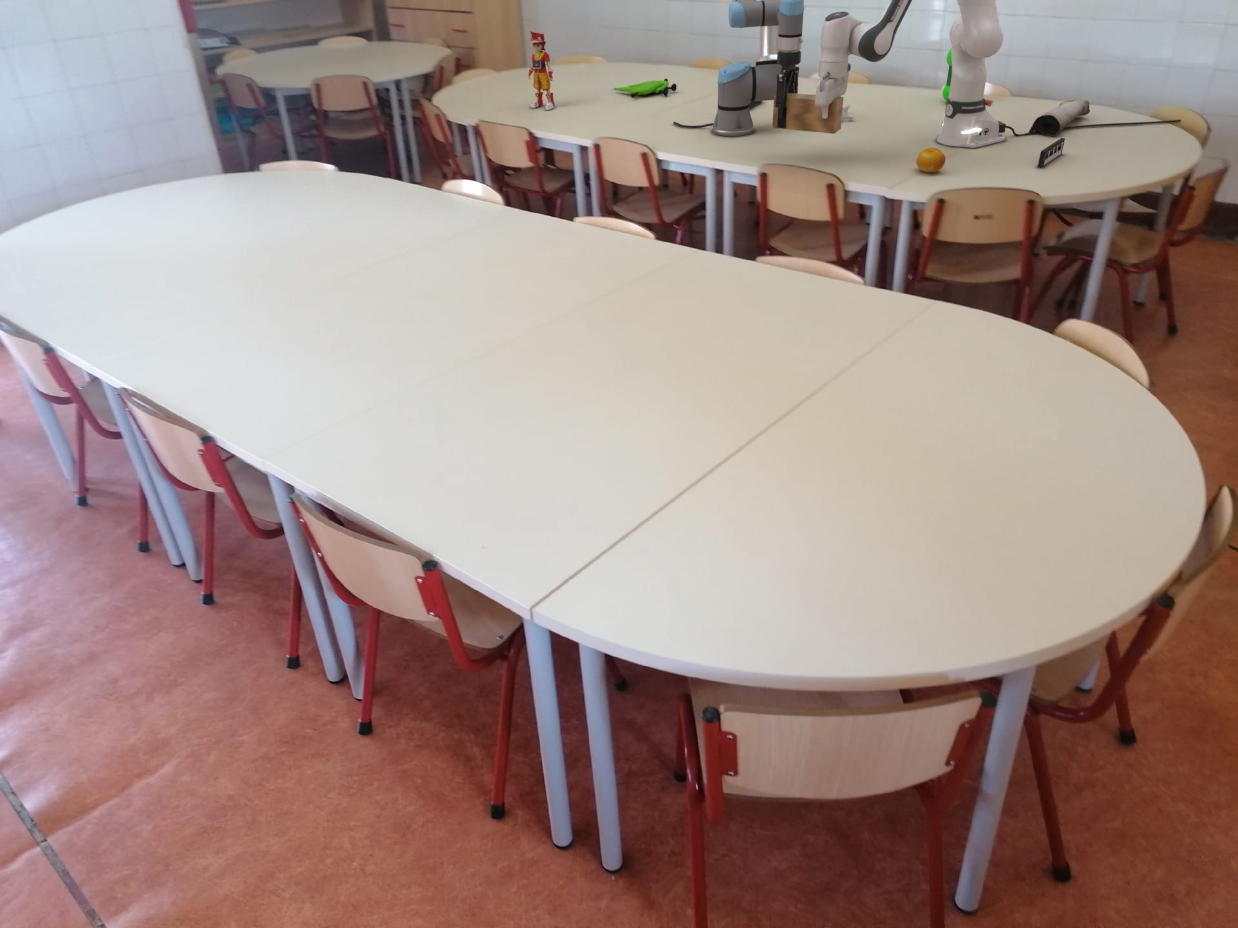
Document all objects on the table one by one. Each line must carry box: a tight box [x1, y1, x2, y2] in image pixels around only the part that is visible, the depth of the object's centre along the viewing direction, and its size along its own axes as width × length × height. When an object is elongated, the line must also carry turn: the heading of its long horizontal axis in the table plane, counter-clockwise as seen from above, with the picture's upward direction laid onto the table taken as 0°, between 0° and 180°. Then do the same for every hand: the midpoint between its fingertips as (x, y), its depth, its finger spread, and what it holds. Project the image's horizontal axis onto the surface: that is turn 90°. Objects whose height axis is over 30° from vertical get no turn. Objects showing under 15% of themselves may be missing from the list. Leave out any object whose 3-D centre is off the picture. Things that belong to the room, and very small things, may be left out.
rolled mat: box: [1028, 99, 1091, 137], centre depth 319 cm, size 30×9×10 cm
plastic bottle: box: [942, 47, 952, 102], centre depth 348 cm, size 10×10×25 cm
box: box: [772, 93, 844, 135], centre depth 295 cm, size 22×6×10 cm, turn 59°
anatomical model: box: [841, 105, 855, 121], centre depth 343 cm, size 15×10×10 cm
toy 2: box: [612, 78, 677, 99], centre depth 396 cm, size 28×5×30 cm
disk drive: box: [749, 101, 763, 110], centre depth 367 cm, size 10×3×15 cm
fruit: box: [916, 147, 946, 174], centre depth 284 cm, size 8×8×8 cm
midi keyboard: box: [1037, 137, 1066, 168], centre depth 287 cm, size 18×1×5 cm, turn 138°
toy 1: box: [527, 31, 556, 111], centre depth 374 cm, size 12×9×30 cm
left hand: (785, 125), depth 300 cm, fingers closed on box, 6 cm apart
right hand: (829, 115), depth 291 cm, fingers closed on box, 6 cm apart
